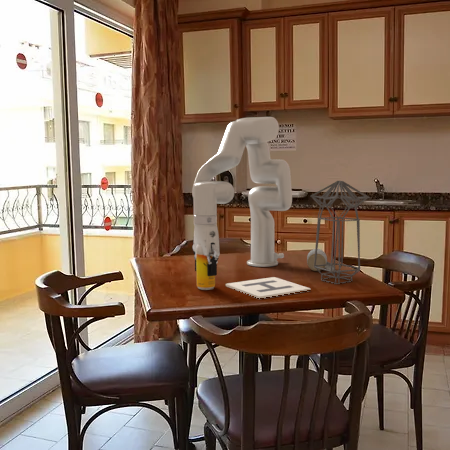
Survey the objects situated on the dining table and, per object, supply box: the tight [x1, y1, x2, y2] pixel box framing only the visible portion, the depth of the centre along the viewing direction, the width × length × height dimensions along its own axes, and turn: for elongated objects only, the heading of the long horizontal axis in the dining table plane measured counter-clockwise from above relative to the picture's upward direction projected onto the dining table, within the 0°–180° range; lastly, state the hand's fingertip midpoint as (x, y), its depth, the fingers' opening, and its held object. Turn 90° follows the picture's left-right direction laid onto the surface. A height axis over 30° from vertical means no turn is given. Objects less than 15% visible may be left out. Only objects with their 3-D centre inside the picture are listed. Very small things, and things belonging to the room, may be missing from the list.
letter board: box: [225, 276, 311, 300], centre depth 173 cm, size 20×20×1 cm
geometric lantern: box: [310, 180, 371, 285], centre depth 182 cm, size 16×16×35 cm
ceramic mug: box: [306, 248, 334, 272], centre depth 202 cm, size 11×8×8 cm
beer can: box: [195, 244, 216, 291], centre depth 173 cm, size 6×6×15 cm
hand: (205, 273), depth 173 cm, fingers open, 8 cm apart
